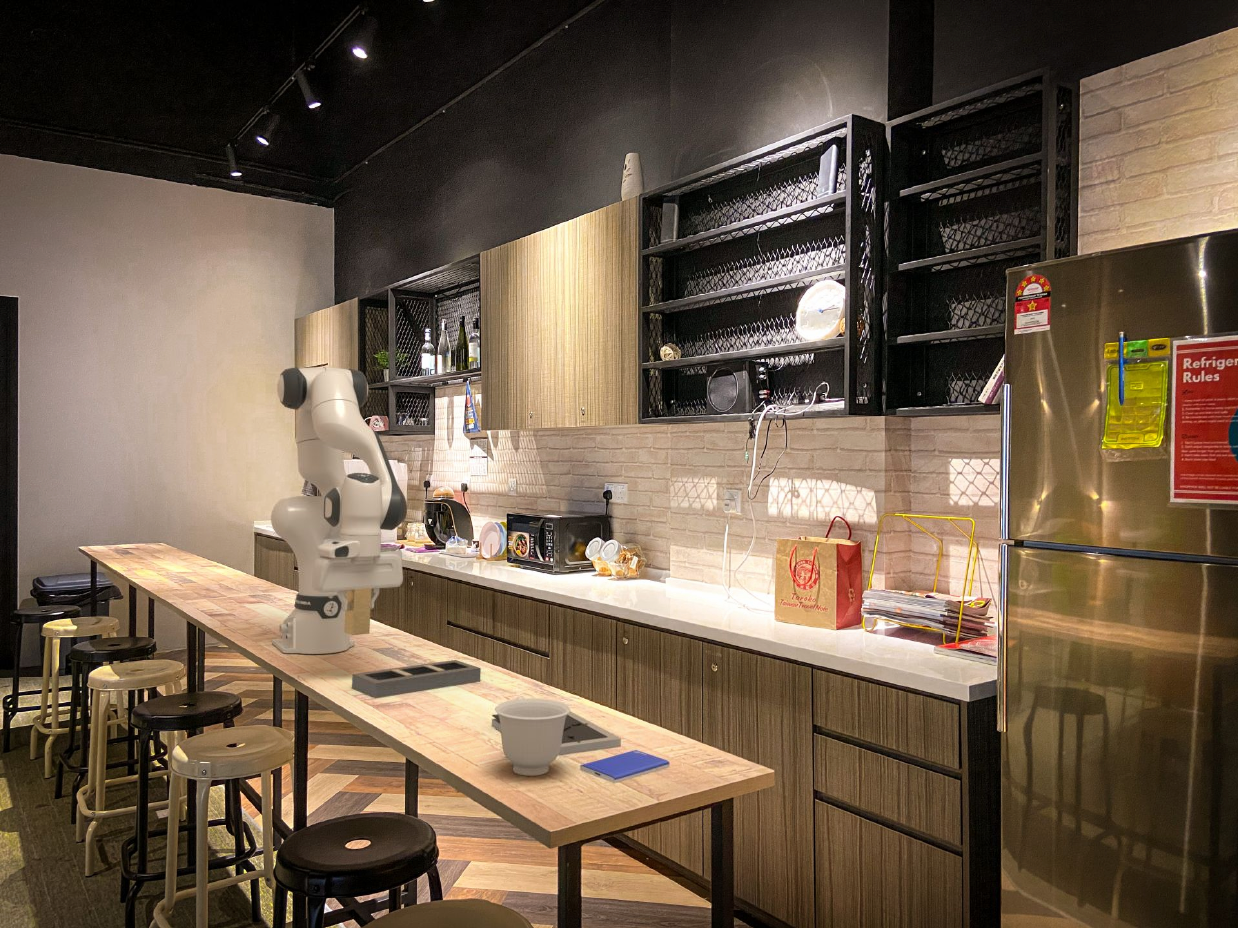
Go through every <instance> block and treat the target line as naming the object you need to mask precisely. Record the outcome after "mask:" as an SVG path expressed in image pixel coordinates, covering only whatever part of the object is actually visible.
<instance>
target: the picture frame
mask: <svg viewBox="0 0 1238 928" xmlns="http://www.w3.org/2000/svg"><path fill="white" fill-rule="evenodd" d="M491 717H493V718H492V719H491V727H492V728H494V729H496V731H498V732H499V733H501V726H500V719H499V715H498V713H497V714H491ZM621 745H622V738H621V737H619V736H617V735H615V734H614V733H611V732H610V731H608V730H607V729H605V728H602V727H601V726H598V724H595V723H594V722H591V721H589V720H587V719H585V718H584V717H582V716H580V715H579V714H576V713H575V712H573V711H571V710H570V712H569V713H568V714H567V716H566V719H565V723H564V729H563V736H562V743H561V748H560V752H559V754H558V756H566V755H573V754H579V753H586V752H593V751H601V750H607V749H614V748H620V747H621ZM558 756H557V757H558Z"/></svg>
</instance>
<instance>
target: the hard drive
mask: <svg viewBox="0 0 1238 928" xmlns="http://www.w3.org/2000/svg"><path fill="white" fill-rule="evenodd" d="M668 768H670V761H669V760H668V759H665V758H661V757H658V756H656V755H653V754H649V753H646V752H644V751H641V750H638V749H635V750H630V751H627V752H624V753H623V752H622V753H620V754H615V755H612V756H609V757H605V758H602V759H598V760H594V761H591V762H588V763H583V764H580V765H579V771H582V772H585V773H587V774H590V775H592V776H594V777H595V776H596V777H597V778H600V779H603V780H606V781H608V782H611V783H613V784H617V783H621V782H625V781H628V780H631V779H634V778H638V777H641V776H645V775H648V774H650V773H654V772H658V771H661V770H664V769H668Z"/></svg>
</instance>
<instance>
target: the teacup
mask: <svg viewBox="0 0 1238 928" xmlns="http://www.w3.org/2000/svg"><path fill="white" fill-rule="evenodd" d="M494 711H495V713H497V714H498V715H499V719H500V726H501V732H500V735H501V745H502V746H501V747H502V752H503V755H504V757H505V758H506V759H507V761H509V762H510V763H511V764H513V768H512V771H513V773H515V774H518V775H521V776H525V777H526V776H527V777H533V776H535V777H536V776H543V775H545V774H547V773H548V772H549V770H550V767H549V765H550V764H551V763H553V762H554V761H555V760H556V759H557V758H558V754H559V752H560V748H561V743H562V736H563V729H564V723H565V719H566V716H567V714H568V713H569V712H570V711H571V708H570V707H569V705H568V704H566V703H564V702H561V701H558V700H553V699H545V698H525V697H523V696H522V697H521V696H520V697H517V698H516V699H511V700H507V701H503V702H501V703H499V704H498V705H496V706H495V709H494Z"/></svg>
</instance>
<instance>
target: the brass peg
mask: <svg viewBox="0 0 1238 928" xmlns="http://www.w3.org/2000/svg"><path fill="white" fill-rule="evenodd" d="M345 598H346V600H347V602H350V603H351V611H345V626H344V632H345V633H348V634H350V636H359V635H369V634H370V631H371V630H370V629H371V610H372V609H371V588H367V589H354V590H348V591H347V596H345Z"/></svg>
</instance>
